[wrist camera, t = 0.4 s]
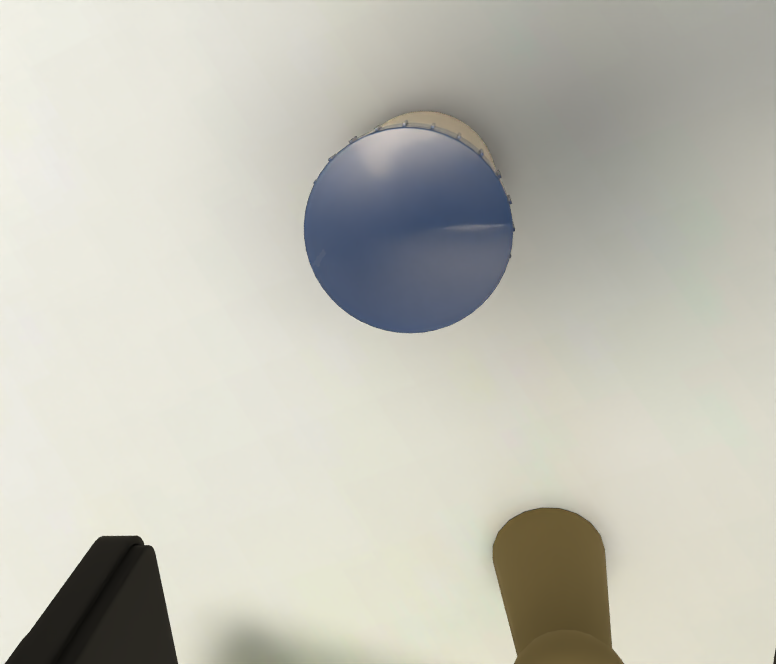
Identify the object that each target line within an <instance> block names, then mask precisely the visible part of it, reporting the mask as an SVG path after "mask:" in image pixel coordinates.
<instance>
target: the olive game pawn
mask: <svg viewBox="0 0 776 664" xmlns="http://www.w3.org/2000/svg"><path fill="white" fill-rule="evenodd" d="M493 563H494V567H495V571H496V575H497V579H498V583H499V587H500V590H501V594H502V598H503V602H504V606H505V610H506V614H507V618H508V622H509V626H510V630H511V633H512V637H513V641H514V645H515V649H516V653H517V659H516V661H515V663H514V664H624V663H623V662H622V660H621V659H620V657H619V656H618V655H617V654H616V653H615V651H614V650H613V649H612V641H611V628H610V614H609V600H608V586H607V573H606V559H605V549H604V545H603V542H602V539H601V536H600V534H599V533H598V532H597V530H596V529H595V528H594V527H593V525H592V524H591V523H590V522H588V521H587V520H585V519H584V518H582V517H581V516H579V515H578V514H576V513H573V512H569V511H566V510H563V509H558V508H539V509H535V510H531V511H527V512H524V513H522V514H520V515H518V516H516V517H515V518H513V519H511V520H509V521H508V522H507V524H506V525H505V526H504V527H503V528H502V529H501V530H500V531H499V532H498V535H497V537H496V540H495V542H494V544H493Z"/></svg>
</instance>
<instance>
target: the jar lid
mask: <svg viewBox="0 0 776 664" xmlns="http://www.w3.org/2000/svg"><path fill="white" fill-rule="evenodd" d="M435 124H436V123H432V125H429V124H423V123H408V120H405V121H404V122H403V123H399V124H392V125H388V126H384V127H382V126H381V125H378V126H377V127H376V128H374V130H373V131H370V132H368V133H366V134H364V135H362V136H361V137H359V138H357V136H356V137H354V138H353V139H351V140H350V141H349V143H350V144H349V145H347V146H346V147H345V148H343V149H342V150H341V151H340V152H338V153H337V154H335V155H333V156H332V157H330V158H329V160H328V161H329V162H328V164H327V165H326V166H325V168H324V169H323V170H322V172H321V173H320V175H319V176H318V178H317V179H316V180H315V181H314V185H313V188H312V190H311V193H310V196H309V198H308V202H307V206H306V210H305V219H304V239H305V246H306V252H307V255H308V258H309V262H310V265H311V267H312V269H313V272H314V274H315V276H316V278H317V279H318V281H319V283H320V284H321V286H322V288H323V289H324V290H325V291H326V293H327V294H328V295H329V297H330V298H331V299H332V300H333V301H334V302H335V303H336V304H337V305H338V306H339V307H341V308H342V309H343V310H344V311H346V312H347V313H348V314H350V315H351V316H353V317H355V318H356V319H358V320H360V321H361V322H364V323H366V324H368V325H370V326H373V327H376V328H379V329H382V330H386V331H392V332H397V333H422V332H428V331H433V330H438V329H441V328H444V327H447V326H449V325H452V324H454V323H456V322H458V321H460V320H462V319H463V318H465V317H466V316H468V315H470V314H471V313H472V312H474V311H475V310H476V309H477V308H478V307H480V306H481V305H482V304H483V303H484V302H485V301H486V300H487V298H488V297H489V296H490V295H491V294H492V292H493V291H494V290H495V288H496V287H497V285H498V284H499V282H500V280H501V278H502V276H503V274H504V272H505V270H506V267H507V264H508V261H509V258H510V257H511V249H512V240H513V231H515V227H514V224H513V221H512V214H511V209H510V204H512V202H511V199H510V196H509V195H506V192H505V189H504V186H503V183H502V181H501V179H500V178H501V174H500V171H499V170H497V171H496V170H495V168H494V167H493V165H492V164H491V162H490V161H489V160H488V159H487V158H486V156H485V155H484V151H483V149H480V150H479V149H478V148H476V147H475V146H474V145H473V144H472V143H471V142H469V141H468V140H466V139H464V138H463V137H461V133H458V134H456V133H454V132H451V131H449V130H447V129H444V128H441V127H438V126H435Z"/></svg>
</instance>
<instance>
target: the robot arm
mask: <svg viewBox="0 0 776 664" xmlns="http://www.w3.org/2000/svg"><path fill="white" fill-rule="evenodd" d="M5 664H178V661H177V656H176V651H175V646H174V642H173V637H172V632H171V627H170V622H169V617H168V613H167V608H166V603H165V598H164V593H163V588H162V583H161V579H160V574H159V569H158V564H157V559H156V554H155V551H154V549H153V547H152V546H150V545H144V542H143V540H142V539H141V537H139V536H102V537H99V538H98V539H97V540H96V541H95V542H94V544H93V545H92V546H91V548H90V549H89V551H88V552H87V553H86V555H85V556H84V557H83V559H82V560H81V562H80V563H79V564H78V566H77V567H76V569H75V570H74V571H73V573H72V574H71V575H70V577H69V578H68V580H67V581H66V582H65V584H64V585H63V586H62V588H61V589H60V591H59V592H58V593H57V595H56V596H55V597H54V599H53V600H52V602H51V603H50V604H49V606H48V607H47V608H46V610H45V611H44V613H43V614H42V615H41V617H40V618H39V620H38V621H37V622H36V624H35V625H34V626H33V628H32V629H31V631H30V632H29V633H28V634H27V635H26V636H25V637H24V638H23V640H22V641H21V642H20V644H19V645H18V646H17V648H16V649H15V650H14V652H13V653H12V655H11V656H10V657H9V659H8V660H7V661H6V663H5ZM773 664H776V650H775V656H774V663H773Z"/></svg>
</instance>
